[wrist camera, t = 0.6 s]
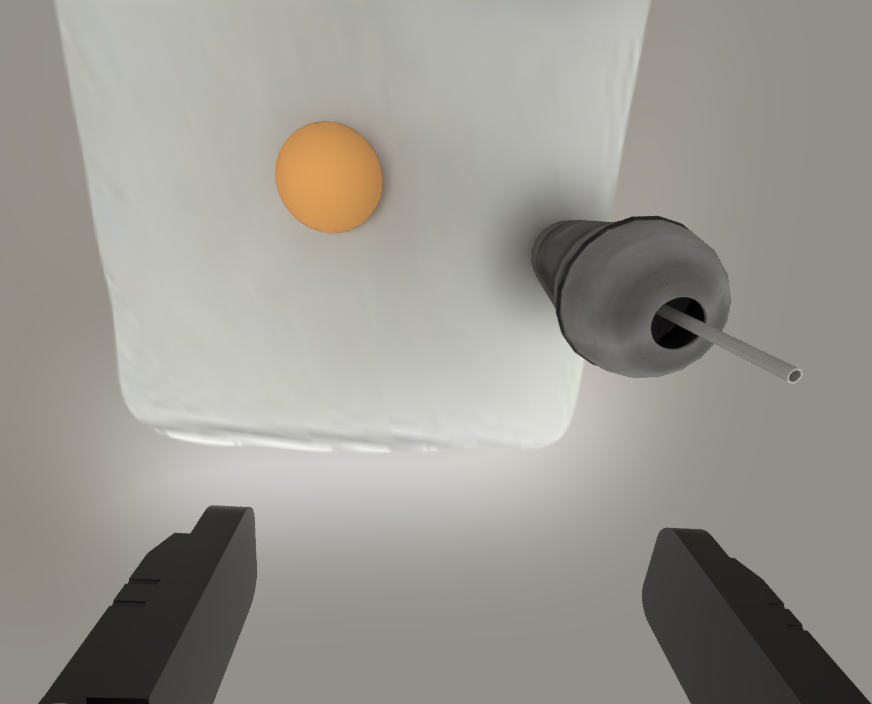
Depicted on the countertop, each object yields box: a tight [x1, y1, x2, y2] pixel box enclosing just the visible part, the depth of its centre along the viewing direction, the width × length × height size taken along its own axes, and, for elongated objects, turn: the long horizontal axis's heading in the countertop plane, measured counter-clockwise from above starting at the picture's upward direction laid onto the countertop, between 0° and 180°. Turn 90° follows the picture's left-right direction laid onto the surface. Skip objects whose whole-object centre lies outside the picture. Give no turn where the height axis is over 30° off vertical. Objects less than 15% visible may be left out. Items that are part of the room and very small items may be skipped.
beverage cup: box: [531, 216, 802, 384], centre depth 23 cm, size 7×7×20 cm
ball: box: [276, 122, 383, 233], centre depth 28 cm, size 6×6×6 cm
